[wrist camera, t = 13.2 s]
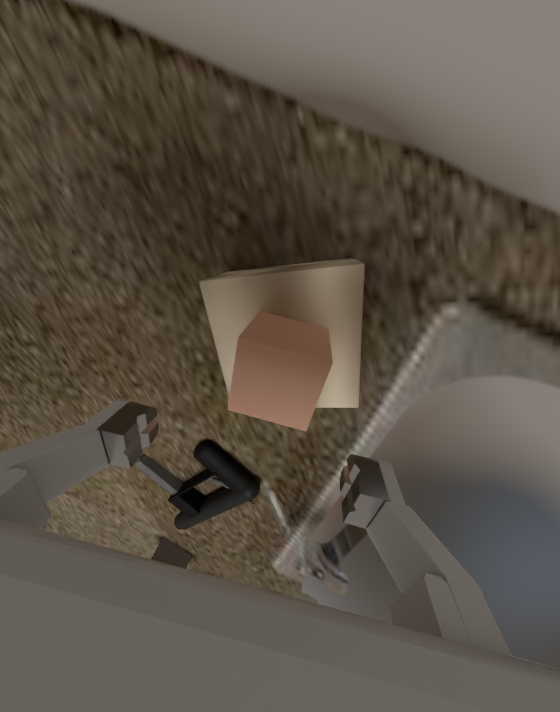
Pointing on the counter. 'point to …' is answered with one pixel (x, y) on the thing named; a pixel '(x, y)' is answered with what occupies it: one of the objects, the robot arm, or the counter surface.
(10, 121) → the counter surface
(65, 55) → the counter surface
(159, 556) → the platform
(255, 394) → the terracotta block
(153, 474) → the black clamp
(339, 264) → the birch box
